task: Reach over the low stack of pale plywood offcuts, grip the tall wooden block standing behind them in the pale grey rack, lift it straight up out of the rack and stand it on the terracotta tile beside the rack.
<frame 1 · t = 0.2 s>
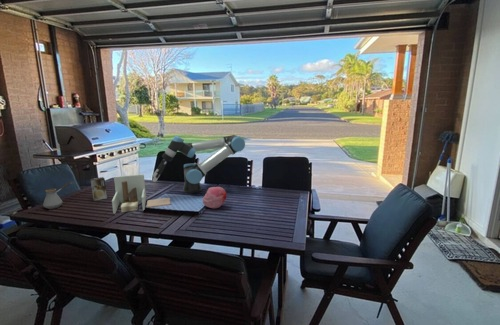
hand: (153, 179, 202), 16 cm above the table, tool tilted 35°, fingers open, 13 cm apart
decorative rock: (214, 207, 189), on the table
tile: (158, 202, 199), on the table
coffee box: (100, 198, 210), on the table
coffee pot: (60, 205, 198), on the table
rack: (130, 206, 193), on the table
wooden block: (130, 206, 193), on the table, touching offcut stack
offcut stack: (129, 209, 187), on the table, touching wooden block
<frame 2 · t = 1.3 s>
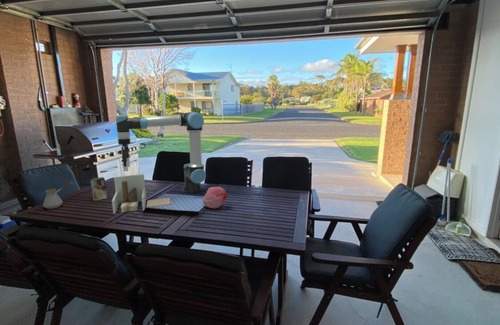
hand: (126, 169, 187), 27 cm above the table, tool pointing down, fingers open, 13 cm apart
nothing on the table moved.
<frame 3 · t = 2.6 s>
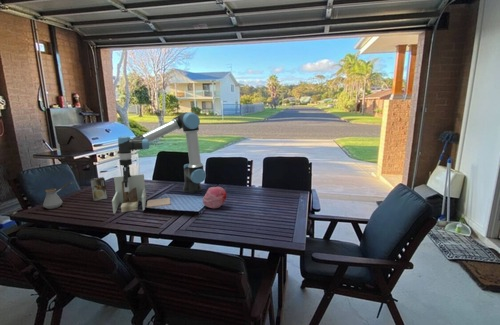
hand: (127, 189, 189), 13 cm above the table, tool pointing down, fingers open, 13 cm apart
nothing on the table moved.
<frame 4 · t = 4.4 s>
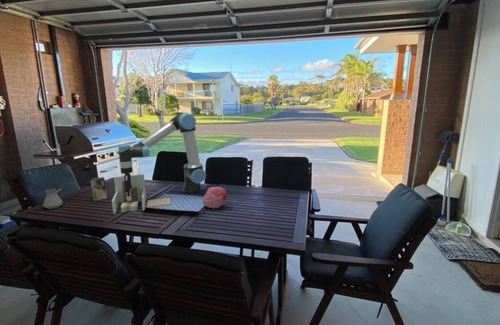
hand: (129, 199, 191), 5 cm above the table, tool pointing down, fingers closed on wooden block, 6 cm apart
wooden block: (130, 206, 193), on the table, touching gripper, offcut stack
everything else where it was.
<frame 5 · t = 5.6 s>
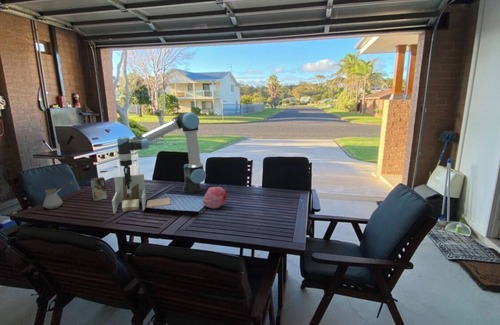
hand: (129, 191, 191), 11 cm above the table, tool pointing down, fingers open, 5 cm apart
wooden block: (130, 202, 193), point 2 cm above the table, touching gripper
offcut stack: (130, 206, 187), point 2 cm above the table, tilted 27°
everything else where it was.
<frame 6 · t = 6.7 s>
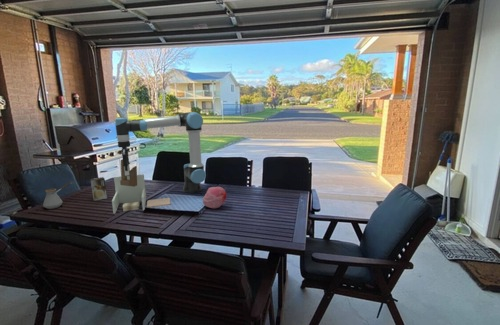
hand: (127, 174, 188), 23 cm above the table, tool pointing down
wooden block: (128, 185, 190), point 15 cm above the table, touching gripper
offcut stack: (131, 208, 189), on the table
everything else where it was.
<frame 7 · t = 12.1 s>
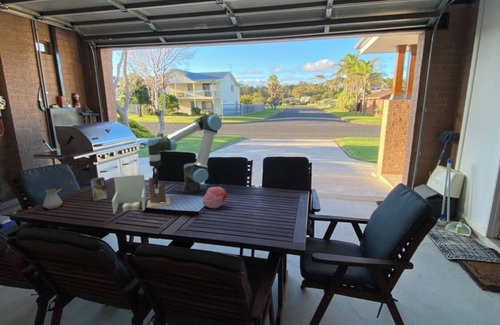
hand: (156, 191, 196), 9 cm above the table, tool pointing down, fingers closed on wooden block, 5 cm apart
wooden block: (158, 201, 199), point 1 cm above the table, touching gripper, tile
everything else where it was.
when the fingers open (8 cm above the table, at t = 13.0 s): wooden block stays where it is, resting on tile.
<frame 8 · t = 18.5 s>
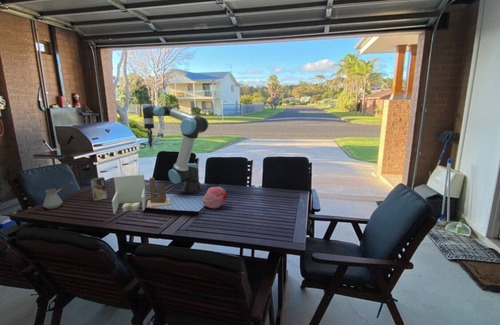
hand: (151, 149, 225), 35 cm above the table, tool pointing down, fingers open, 13 cm apart
wooden block: (158, 202, 199), point 1 cm above the table, touching tile
everything else where it was.
at the end: wooden block inside the target area (0.3 cm from its centre), point 0.6 cm above the table; wooden block tilted 0°; the gripper is holding nothing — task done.
